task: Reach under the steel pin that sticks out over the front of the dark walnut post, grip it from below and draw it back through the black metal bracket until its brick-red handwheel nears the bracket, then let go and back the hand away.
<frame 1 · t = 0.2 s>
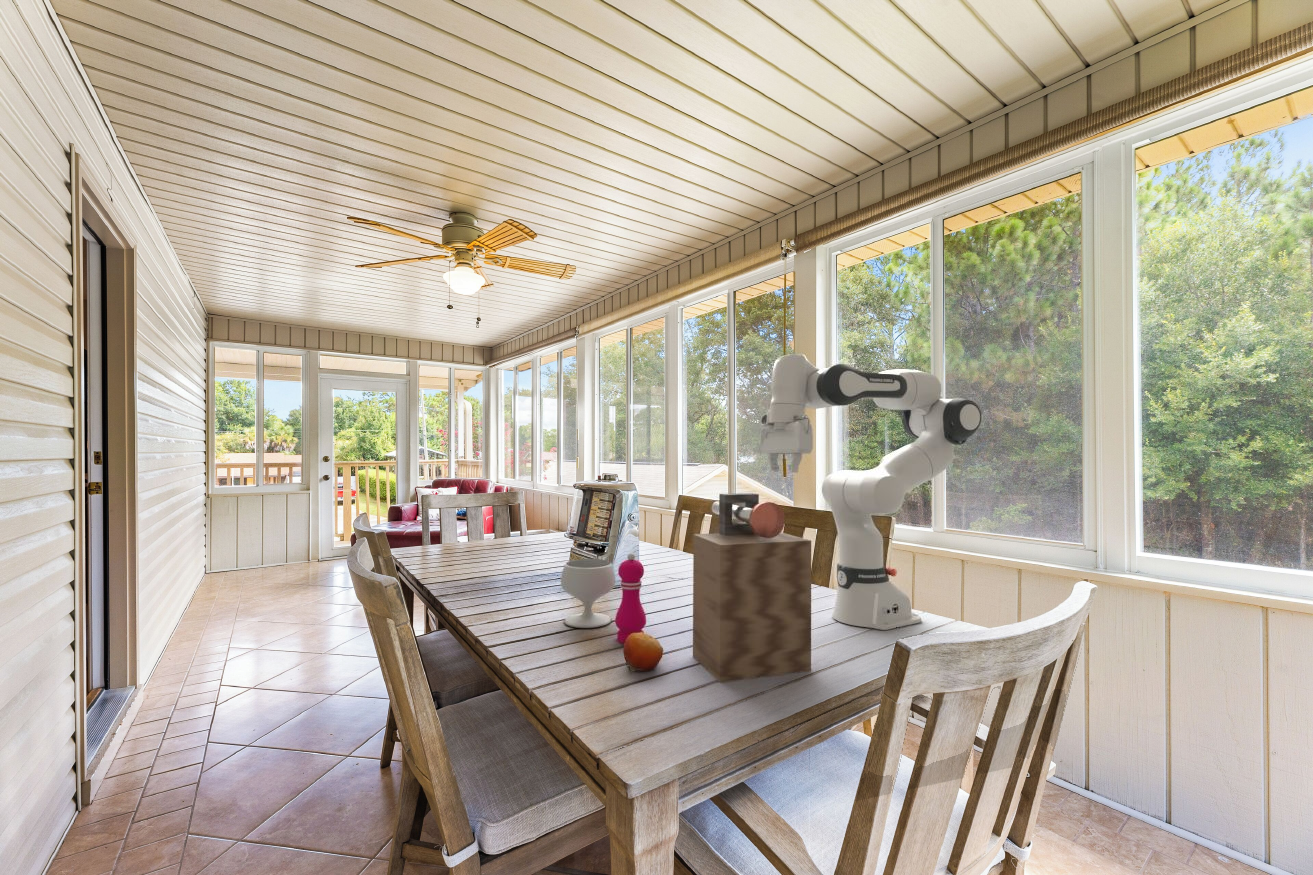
hand: (783, 472, 140), 39 cm above the table, tool pointing down, fingers open, 8 cm apart
fruit: (642, 669, 113), on the table
pepper mill: (630, 640, 130), on the table
walnut post: (750, 663, 116), on the table
chalice: (587, 622, 143), on the table
steel pin: (740, 513, 121), point 30 cm above the table, slide at 0.0 cm
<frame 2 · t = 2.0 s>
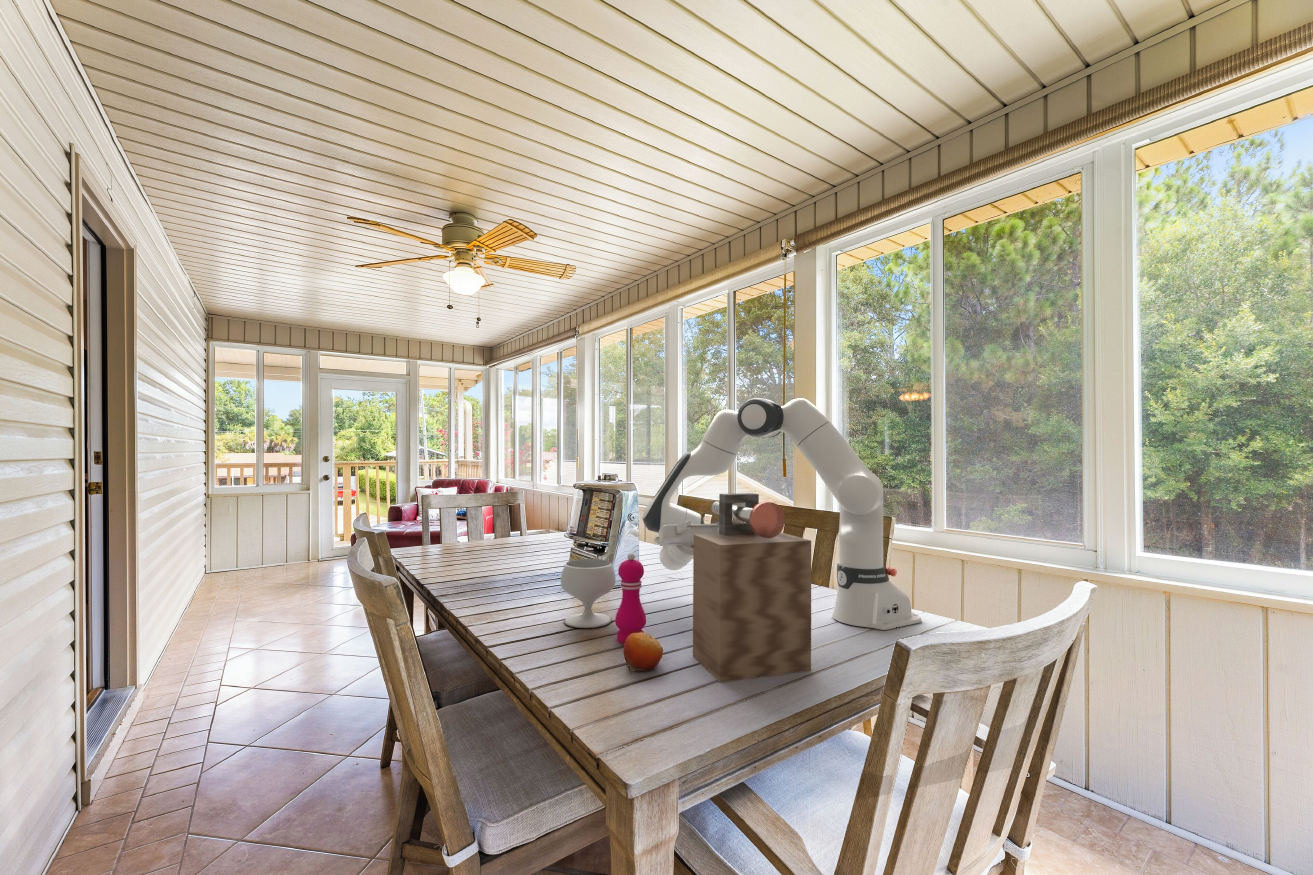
hand: (705, 523, 144), 25 cm above the table, tool pointing upward, fingers open, 8 cm apart
nothing on the table moved.
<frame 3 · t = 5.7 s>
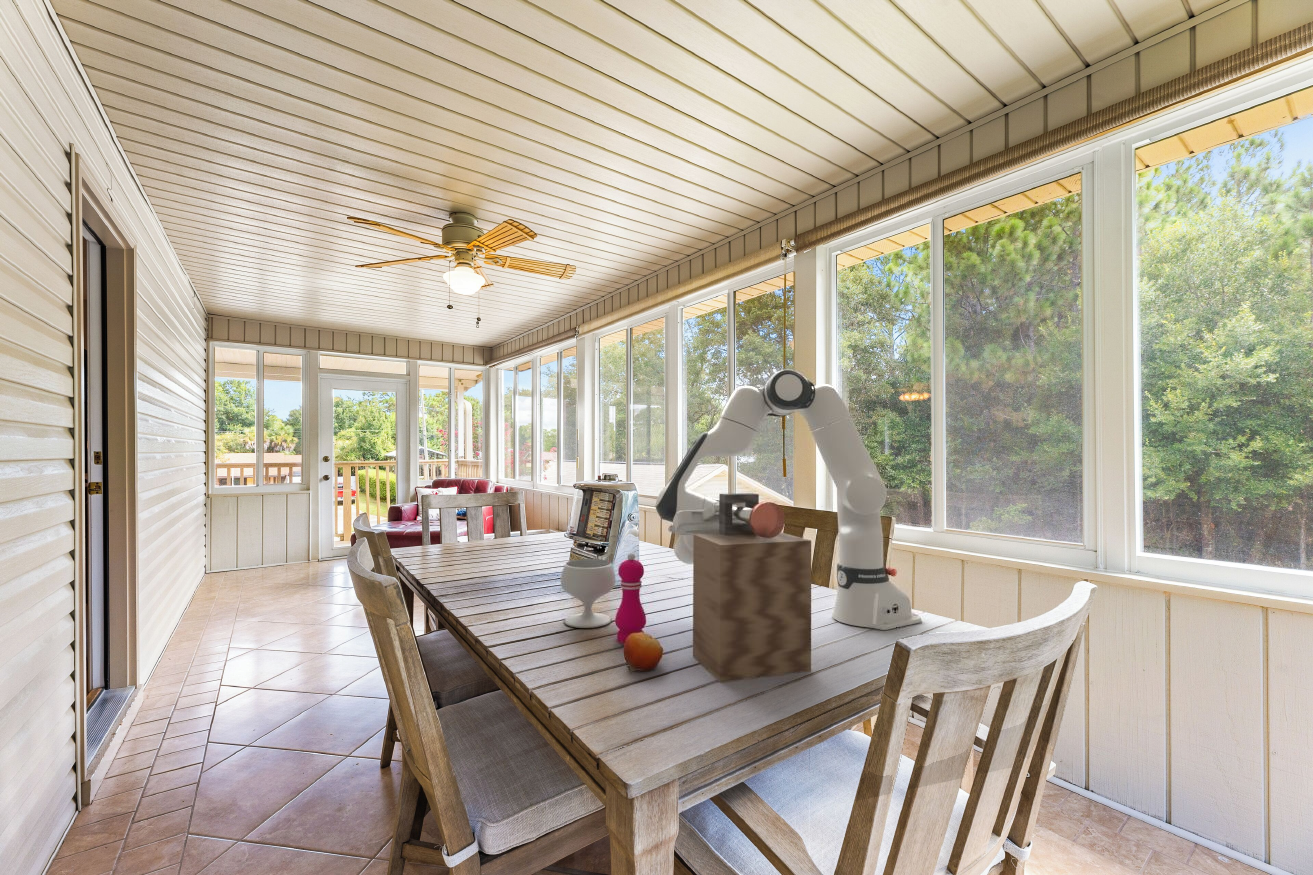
hand: (725, 507, 128), 31 cm above the table, tool pointing upward, fingers closed on steel pin, 3 cm apart
steel pin: (740, 513, 121), point 30 cm above the table, slide at 0.0 cm, touching gripper
everything else where it was.
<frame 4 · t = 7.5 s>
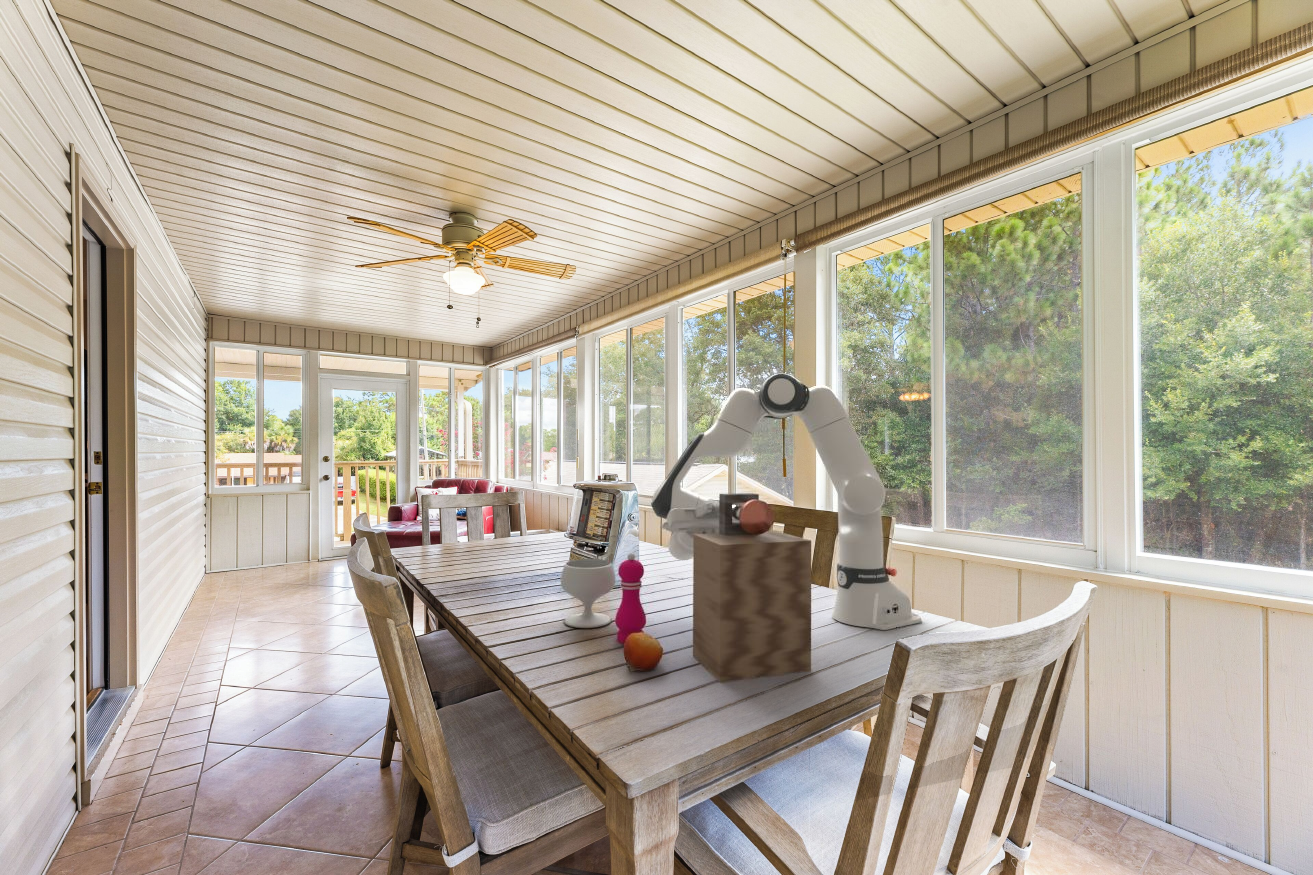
hand: (717, 505, 132), 31 cm above the table, tool pointing upward, fingers closed on steel pin, 3 cm apart
steel pin: (731, 511, 125), point 30 cm above the table, slide at 4.6 cm, touching gripper
everything else where it was.
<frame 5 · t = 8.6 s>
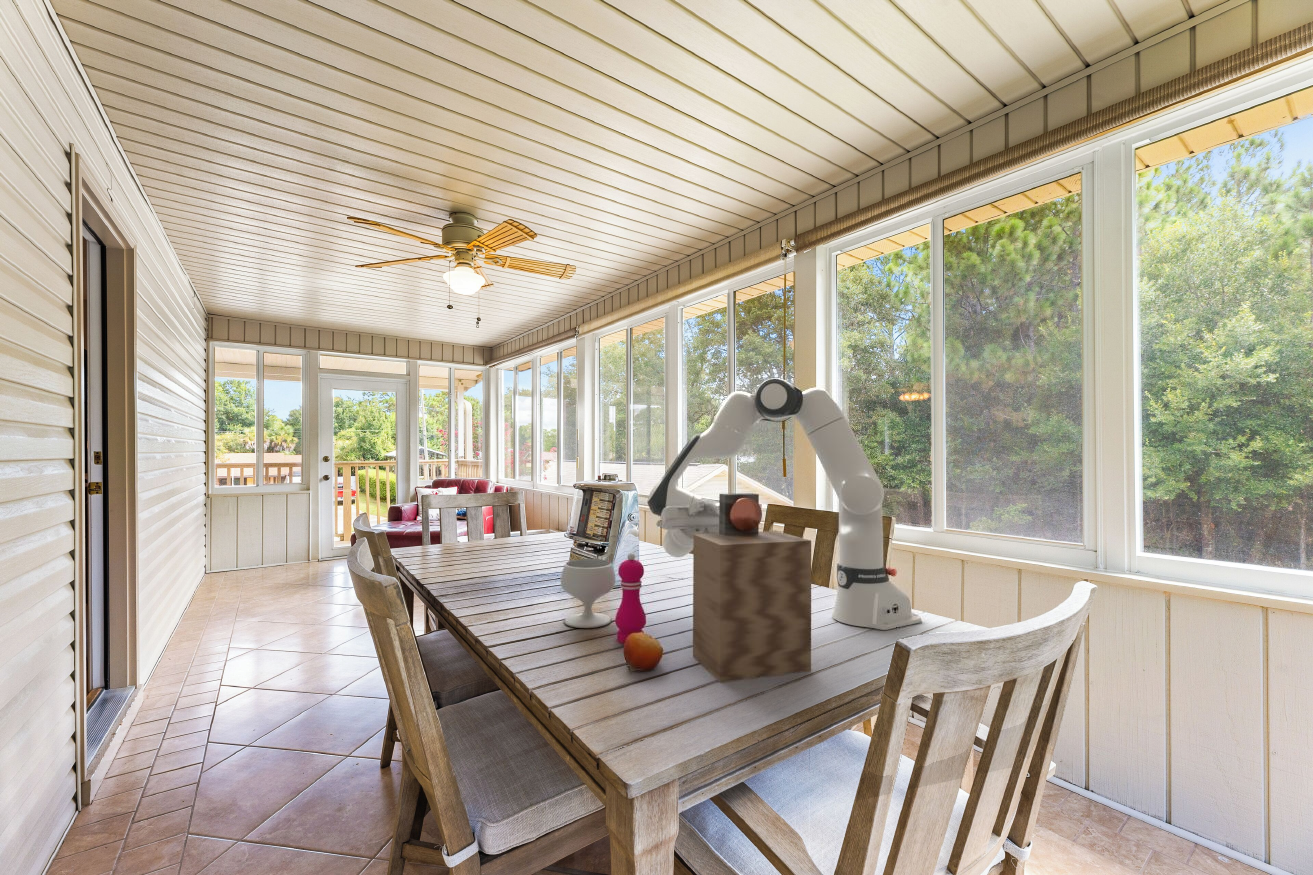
hand: (709, 503, 137), 31 cm above the table, tool pointing upward, fingers closed on steel pin, 3 cm apart
steel pin: (722, 508, 130), point 30 cm above the table, slide at 9.4 cm, touching gripper
everything else where it was.
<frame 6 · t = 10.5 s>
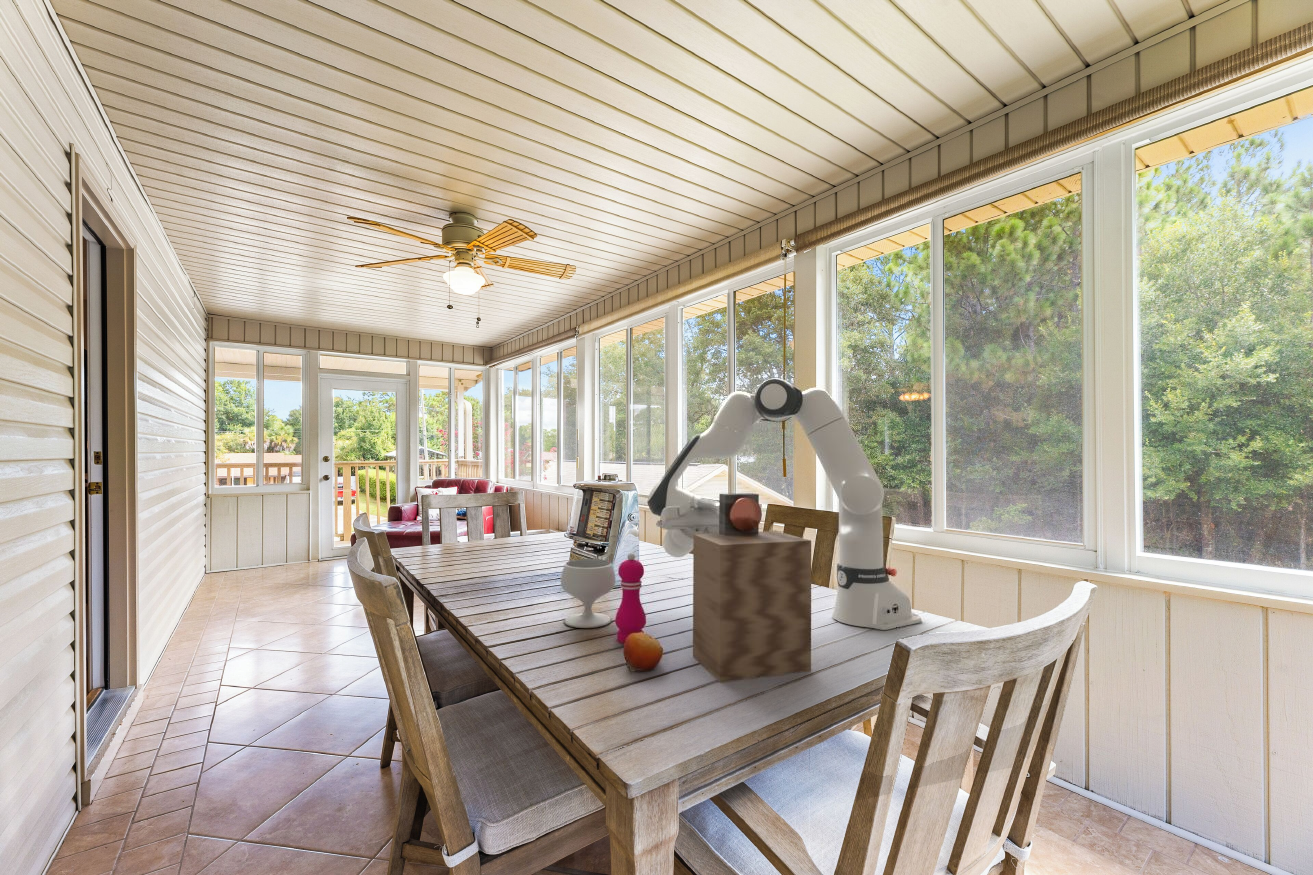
hand: (709, 503, 137), 31 cm above the table, tool pointing upward, fingers open, 8 cm apart
steel pin: (722, 508, 130), point 30 cm above the table, slide at 9.5 cm
everything else where it was.
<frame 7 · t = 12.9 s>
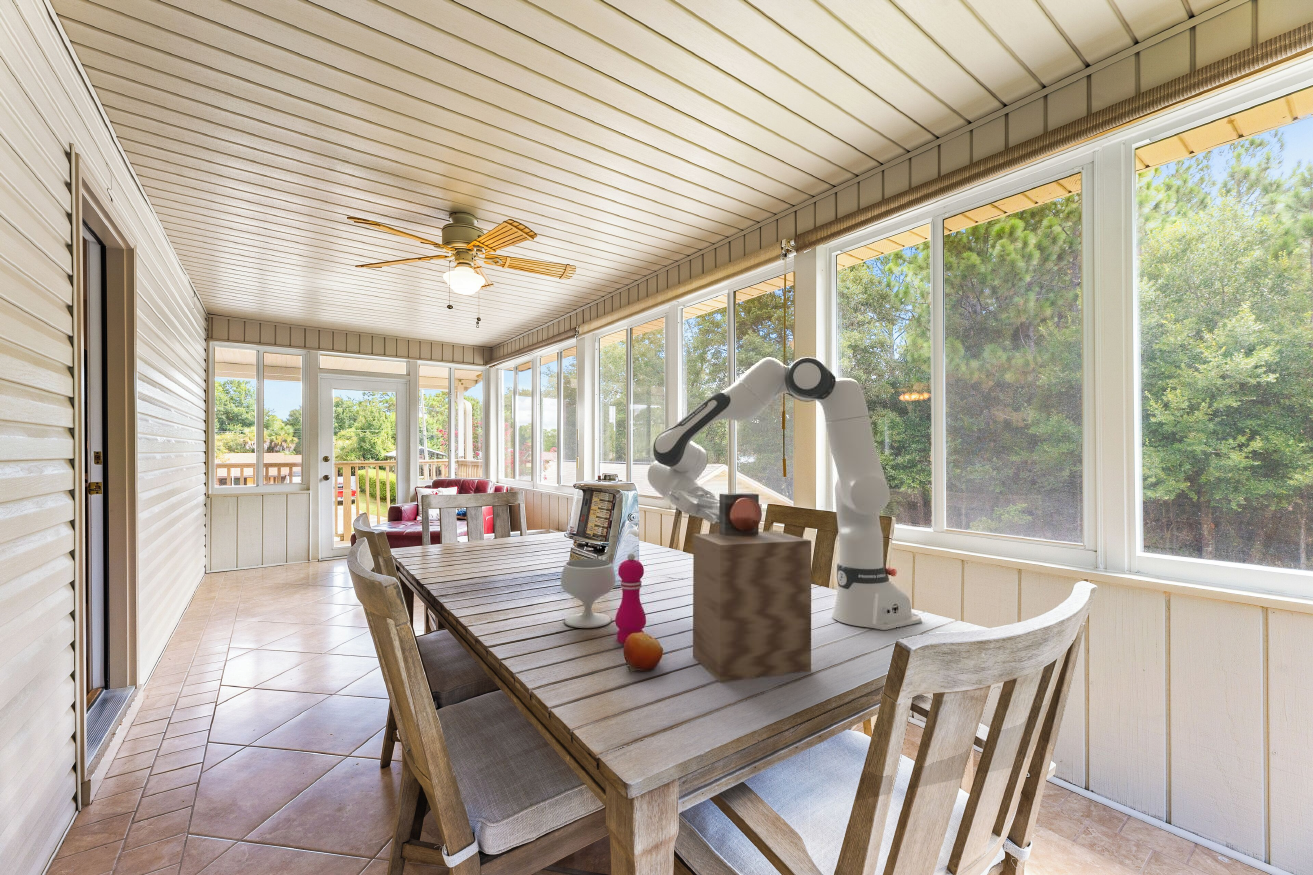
hand: (724, 523, 145), 25 cm above the table, tool tilted 65°, fingers open, 8 cm apart
nothing on the table moved.
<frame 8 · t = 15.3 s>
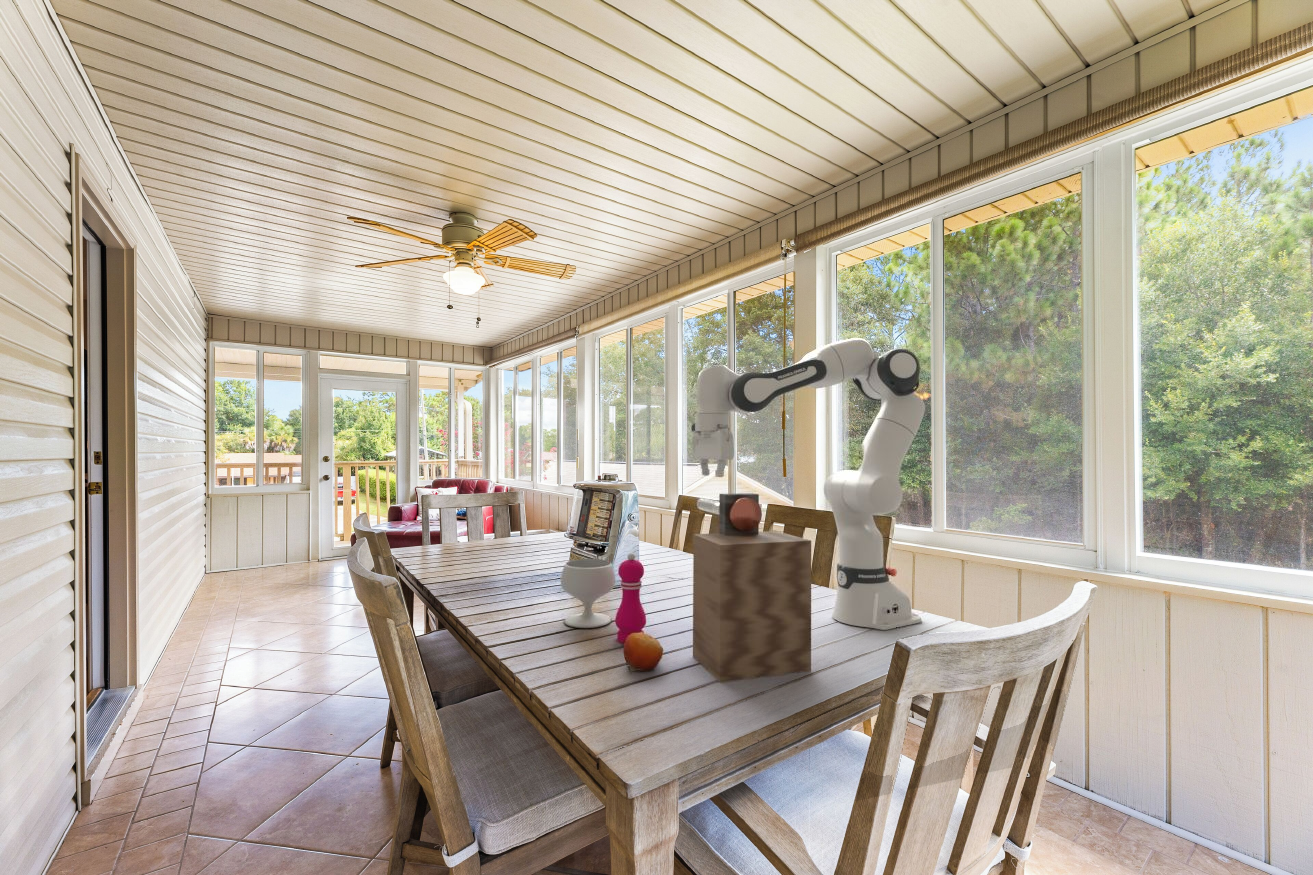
hand: (712, 476, 151), 37 cm above the table, tool pointing down, fingers open, 8 cm apart
nothing on the table moved.
at the end: steel pin slide at 9.5 cm; the gripper is holding nothing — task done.
